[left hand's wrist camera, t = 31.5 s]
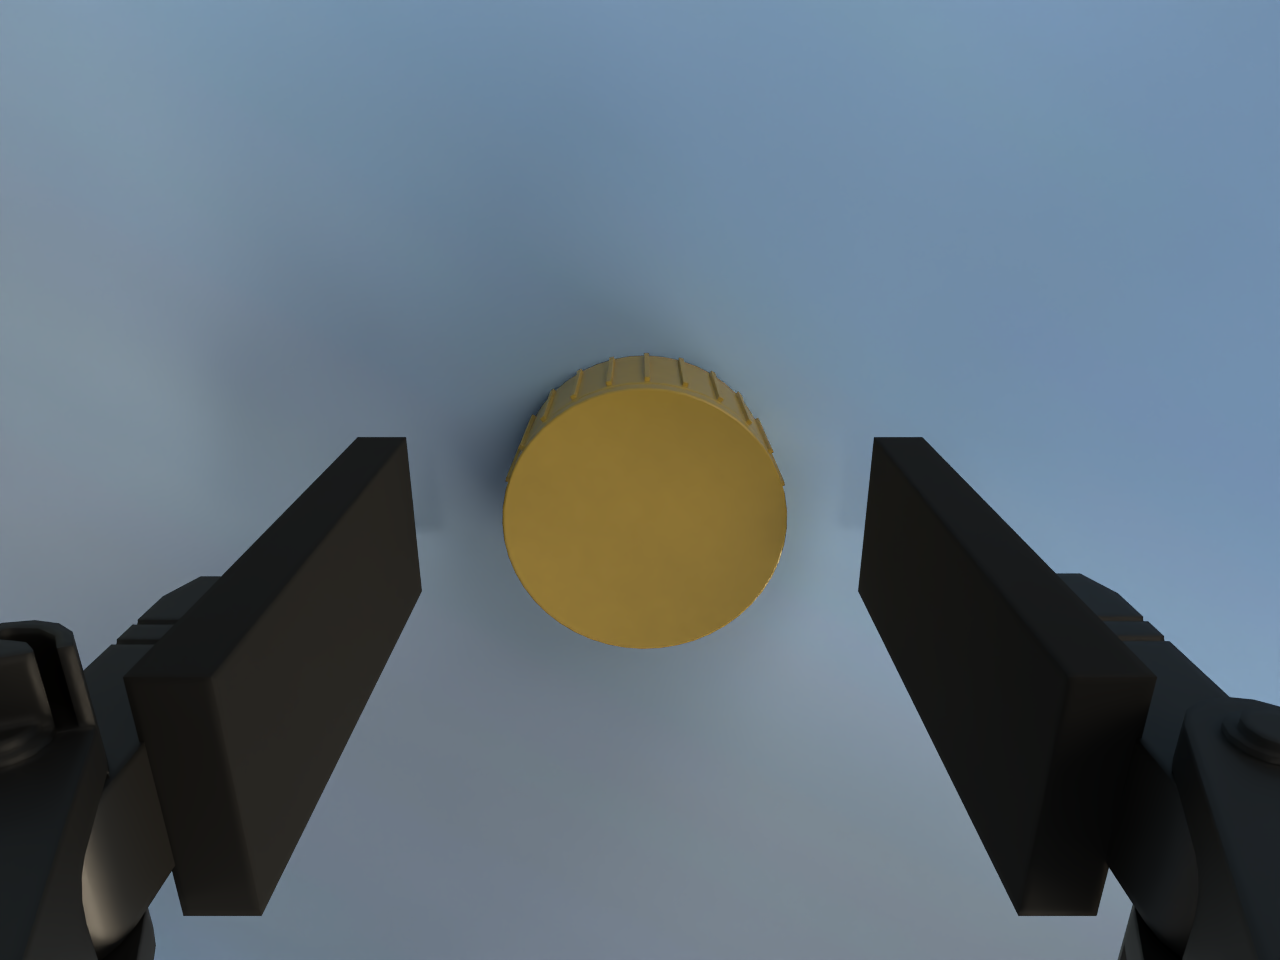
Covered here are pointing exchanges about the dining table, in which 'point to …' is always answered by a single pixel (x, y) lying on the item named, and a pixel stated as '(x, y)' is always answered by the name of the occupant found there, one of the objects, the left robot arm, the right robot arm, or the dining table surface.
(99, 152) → the dining table surface
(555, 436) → the cap
